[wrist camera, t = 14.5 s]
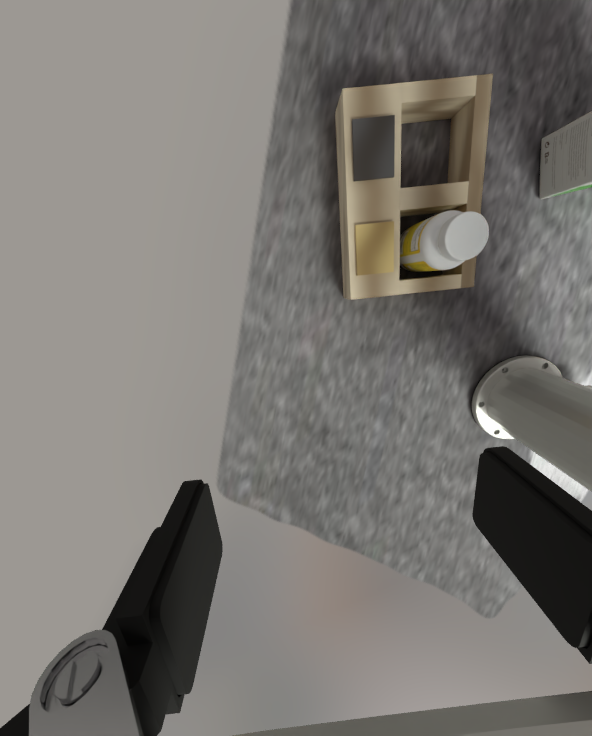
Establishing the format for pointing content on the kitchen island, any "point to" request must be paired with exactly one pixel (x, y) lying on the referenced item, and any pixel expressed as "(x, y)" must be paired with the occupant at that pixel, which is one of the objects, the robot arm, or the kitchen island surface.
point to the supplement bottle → (443, 241)
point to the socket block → (383, 177)
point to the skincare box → (567, 158)
